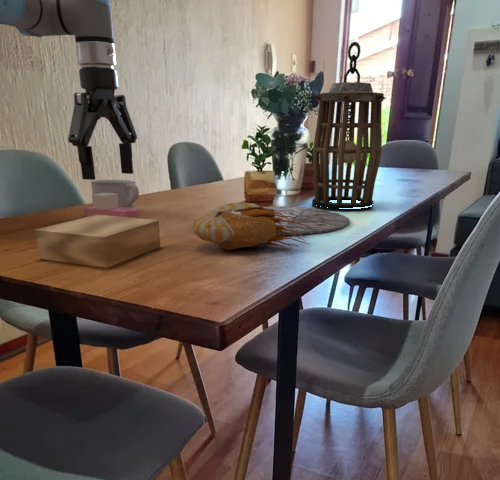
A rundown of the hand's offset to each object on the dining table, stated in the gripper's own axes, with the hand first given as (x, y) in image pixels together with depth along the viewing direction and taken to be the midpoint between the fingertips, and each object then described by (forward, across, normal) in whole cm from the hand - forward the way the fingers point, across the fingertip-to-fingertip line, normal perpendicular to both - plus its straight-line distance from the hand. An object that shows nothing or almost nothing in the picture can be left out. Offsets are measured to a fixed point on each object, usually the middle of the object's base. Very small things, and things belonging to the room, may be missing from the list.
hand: (109, 176), depth 112 cm
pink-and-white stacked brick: (+10, 0, 0) cm, 10 cm away
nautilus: (+11, -9, -38) cm, 40 cm away
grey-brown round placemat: (+11, +20, -33) cm, 40 cm away
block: (+10, -23, -15) cm, 29 cm away
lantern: (+11, +47, -42) cm, 64 cm away
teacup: (+10, +12, +7) cm, 17 cm away
